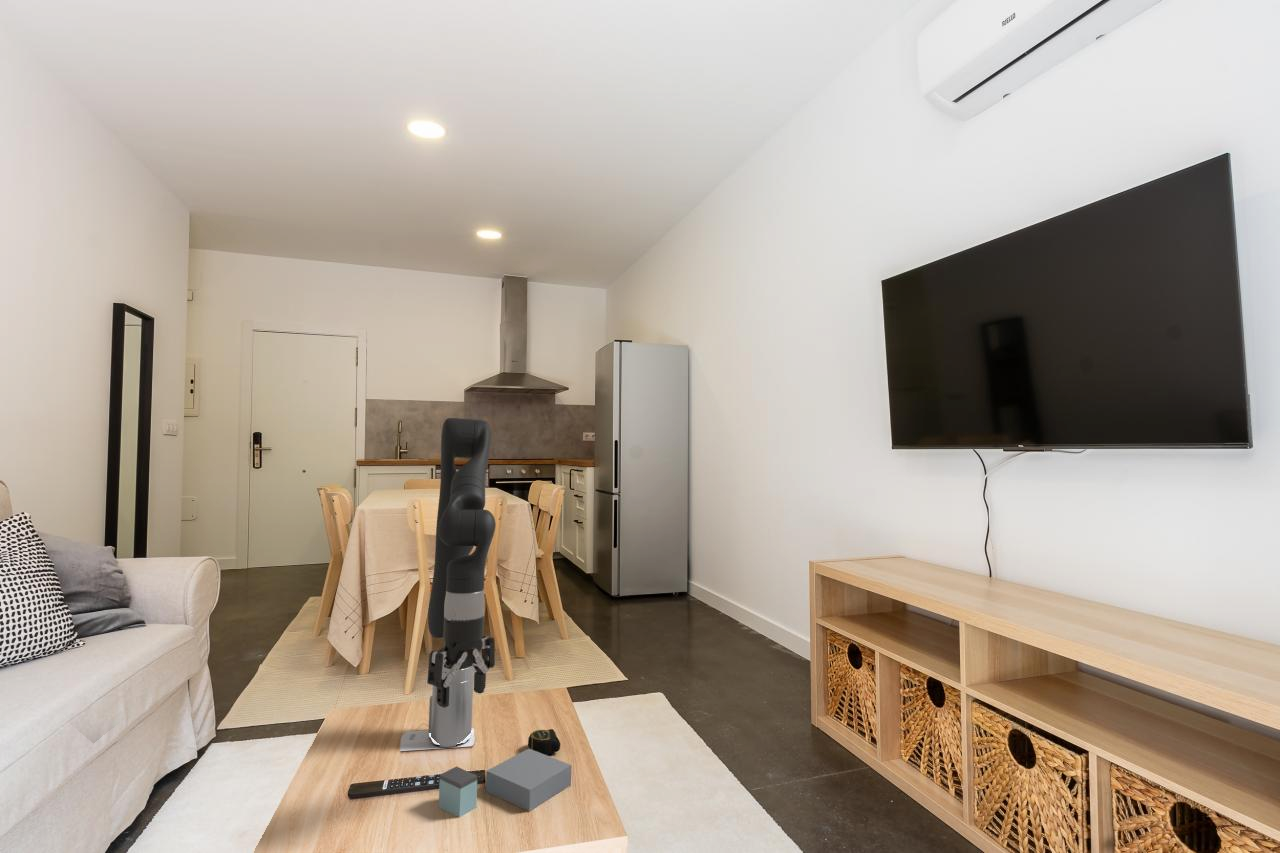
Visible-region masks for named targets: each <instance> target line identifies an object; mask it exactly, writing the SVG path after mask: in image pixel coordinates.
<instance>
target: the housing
mask: <svg viewBox="0 0 1280 853" xmlns="http://www.w3.org/2000/svg"><path fill="white" fill-rule="evenodd" d="M438 784H439V786H438V787H439V789H438V807H439V808H441V810H445V811H447V812H448V813H450V814H452V815H454V816H456V817H458V818H461V817H463V816H465V815H467V814H468V813H470V812H472V811H473V810H475V809H476V808H477V798H478V795H477V794H478V775H477V774H475V773H473V772H470V771H467V770H466V769H463V768H461V767H459V766H455V767H454V766H453V768H451V769H448V770H447V771H445V772H442V773H441V774H439V782H438Z"/></svg>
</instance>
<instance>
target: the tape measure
mask: <svg viewBox="0 0 1280 853" xmlns="http://www.w3.org/2000/svg"><path fill="white" fill-rule="evenodd" d="M527 739H528V741H527V746H528V749H531V750H534V751H537V752H539V753H542V754H544V755H547V756H548V755H550V754H554V753H557V752H559V751H560V749H561V741H560V739H559V738H558V736H557V734H556V731H555V730H554V729H553V728H550V729H537V730H534V731H532V732H531V733H530V734H529V736H528V738H527Z"/></svg>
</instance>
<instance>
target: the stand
mask: <svg viewBox="0 0 1280 853" xmlns="http://www.w3.org/2000/svg"><path fill="white" fill-rule="evenodd" d="M485 772H486V773H485V774H486V775H485V792H486V793H489V794H491V795H493V796H495V797H497V798H499V799H501V800H503V801H506V802H508V803H510V804H512V805H514V806H516V807H519V808H521V809H523V810H525V811H527V812H531V811H533V810H535V809H536V808H537V807H539V806H540V805H542V804H544V803H545V802H547V801H548V800H550V799H552V798H553V797H555V796H556V795H558V794H559V793H561V792H562V791H564V790H565V789H567V788H569V787H570V786H571V785H572V764H570V763H567V762H565V761H562V760H559V759H557V758H554V757H552V756H550V755H548V754H547V755H544V754H542V753H539V752H537V751H534V750H531V749H529V748H527V749H525V750H523V751H522V752H519V753H517V754H516V755H514V756H512V757H510V758H508V759H506V760H504V761H502V762H500V763H499V764H497V765H495V766H493V767H491V768H488V769H487V770H486V771H485Z"/></svg>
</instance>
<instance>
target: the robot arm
mask: <svg viewBox="0 0 1280 853" xmlns="http://www.w3.org/2000/svg"><path fill="white" fill-rule="evenodd" d="M440 437H441V438H440V439H441V441H440V484H439V487H440V488H439V498H438V507H437V515H436V516H437V517H436V530H435V553H434V567H433V576H432V583H431V591H430V596H429V603H428V609H427V610H428V612H427V626H428V631H429V633H430V635H431V636H432V637H433V638H434V639H435V638H436V639H441V638H442V639H443V640H444V643H445V644H444V646H443V647H441V648H440V649H438V650H437V651H435V650H432V651H430V653H429V658H428V670H427V680H426V681H427V682H426V683H427V684H428V685H431V686H432V694H431V695H430V697H429V706H428V707H429V708H428V729H427V730H428V732H429V733H431V737H432V738H433V739H434V740H435V741H436V742H437V743H439V744H440V746H439V747H441V748H442V747H443V748H445V747H446V748H448V747H449V748H450V747H456V745H457V743H460V742H461V741H463V740H464V739H465V738H466V737H467V736H468V735H469V734H470V733H471V730H472V729H473V728H472V727H473V707H474V706H473V705H474V704H473V699H474V693H476V694H484V692H485V689H486V681H487V673H488V670H489V669H492V668H494V667H495V665H496V664H495V660H496V658H495V656H496V655H495V652H496V649H495V638H494V637H493V636H492V637H491V636H487V635H485V610H486V609H485V608H486V602H485V601H486V598H485V571H486V570H485V569H486V561H487V557H488V553H489V551H490V550H489V549H490V548H491V547H490V546H491V544H492V541H493V538H494V535H495V531H496V527H497V526H496V524H497V523H496V519H495V517H494V514H493V513H492V512H491V511H490V510H488V509H485V506H486V477H487V476H486V475H487V470H488V467H489V461H490V460H489V459H490V453H491V442H492V431H491V427H490V424H489V423H488V422H487V421H485V420H483V419H475V418H474V419H473V418H458V417H449V418H446V419H445V421H444V422H443V424H442V429H441V435H440ZM455 459H469V460H468V461H466V463H465V464H463V465H462V466H461V467H460V468H459V469H458V470H457V468H456V465H455ZM474 547H475V549H473V548H474ZM472 550H473V552H472ZM471 552H472V553H471ZM480 652H481V654H480ZM474 670H475V672H474ZM457 746H458V745H457Z"/></svg>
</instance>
